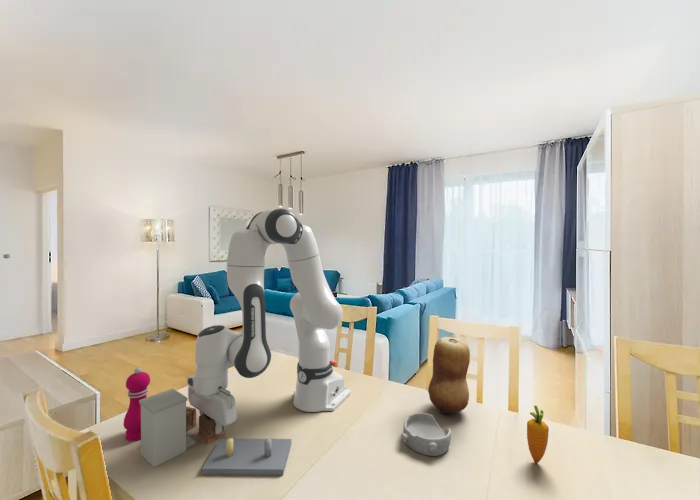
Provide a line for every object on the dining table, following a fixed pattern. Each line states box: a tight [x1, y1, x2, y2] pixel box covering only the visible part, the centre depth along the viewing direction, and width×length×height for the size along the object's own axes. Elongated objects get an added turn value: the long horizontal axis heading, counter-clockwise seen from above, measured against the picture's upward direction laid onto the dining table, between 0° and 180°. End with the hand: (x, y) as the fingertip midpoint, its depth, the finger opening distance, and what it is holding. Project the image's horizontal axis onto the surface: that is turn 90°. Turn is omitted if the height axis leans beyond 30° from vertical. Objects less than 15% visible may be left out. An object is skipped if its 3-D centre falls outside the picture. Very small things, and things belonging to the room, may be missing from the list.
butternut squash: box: [427, 336, 471, 414], centre depth 111 cm, size 14×13×25 cm
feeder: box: [139, 388, 196, 468], centre depth 88 cm, size 11×9×15 cm
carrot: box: [526, 404, 550, 464], centre depth 86 cm, size 5×5×15 cm
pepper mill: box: [123, 367, 151, 442], centre depth 94 cm, size 7×7×20 cm
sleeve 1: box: [186, 406, 197, 433], centre depth 98 cm, size 6×6×5 cm
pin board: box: [201, 437, 292, 476], centre depth 86 cm, size 12×20×6 cm, turn 91°
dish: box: [401, 412, 452, 457], centre depth 94 cm, size 14×14×5 cm
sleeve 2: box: [197, 414, 226, 445], centre depth 95 cm, size 6×6×6 cm
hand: (211, 428), depth 95 cm, fingers closed on sleeve 2, 5 cm apart
